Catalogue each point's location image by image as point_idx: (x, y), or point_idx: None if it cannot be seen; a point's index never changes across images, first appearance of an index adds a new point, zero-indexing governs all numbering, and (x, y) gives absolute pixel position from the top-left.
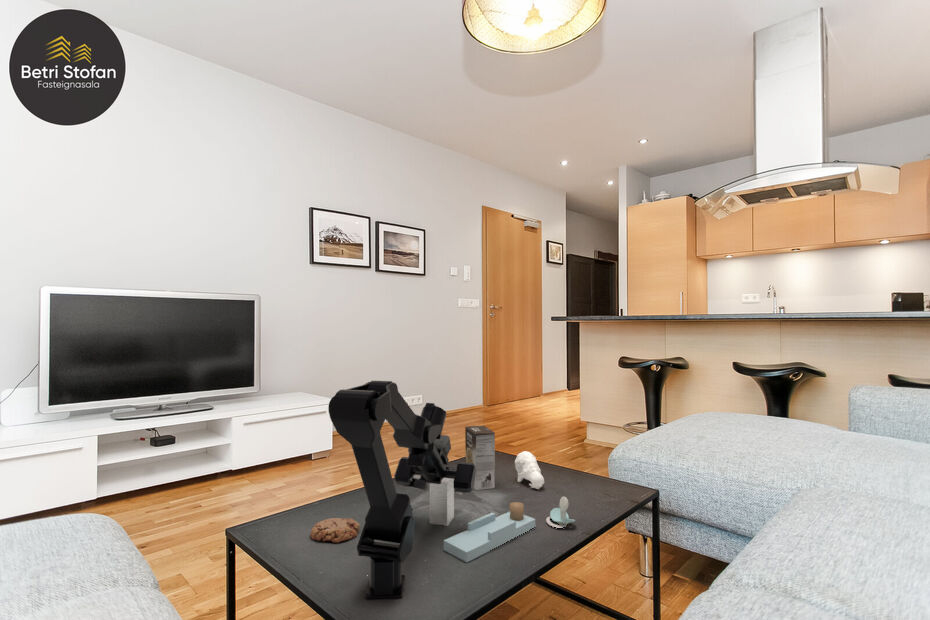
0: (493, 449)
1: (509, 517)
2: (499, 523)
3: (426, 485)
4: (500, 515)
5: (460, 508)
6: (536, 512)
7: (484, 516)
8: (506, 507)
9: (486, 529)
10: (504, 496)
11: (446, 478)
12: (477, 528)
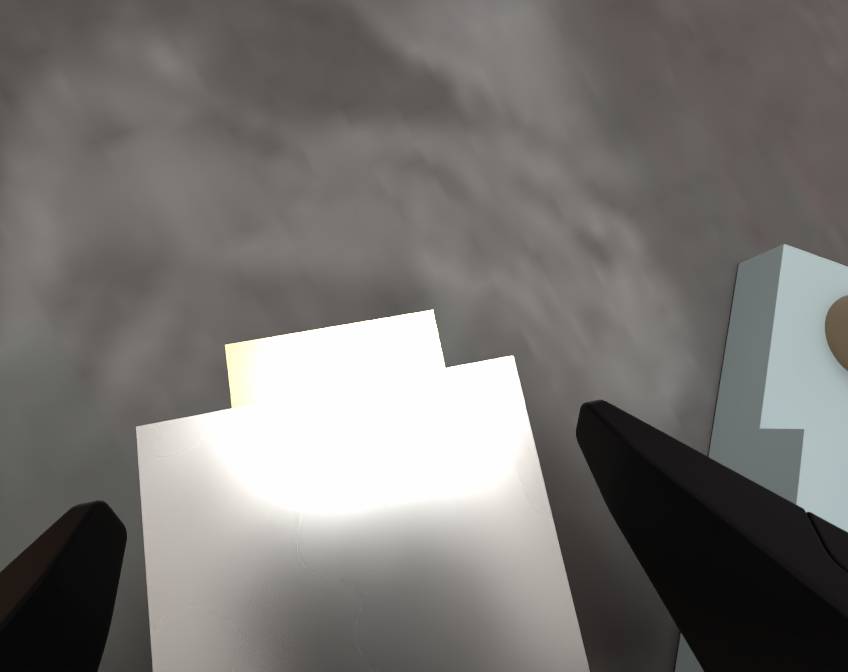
0: None
1: (830, 354)
2: (835, 475)
3: (81, 547)
4: (770, 352)
5: (398, 260)
6: (795, 139)
7: None
8: (633, 139)
9: None
10: (548, 7)
11: (469, 576)
12: None
